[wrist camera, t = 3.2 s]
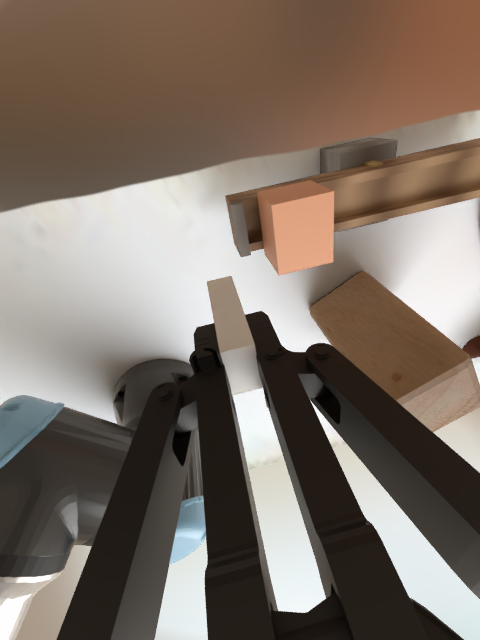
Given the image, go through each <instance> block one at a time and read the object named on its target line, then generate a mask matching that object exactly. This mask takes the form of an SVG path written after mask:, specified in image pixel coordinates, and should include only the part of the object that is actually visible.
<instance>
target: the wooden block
mask: <svg viewBox="0 0 480 640" xmlns="http://www.w3.org/2000/svg"><path fill="white" fill-rule="evenodd" d="M310 314H311V316H312V317H313V319H314V320H315V322H316V323H317V325H318V326H319V327H320V329H321V330H322V332H323V333H324V335H325V336H326V338H327V339H328V340H329V342H330V343H331V345H332V346H333V347H335V348H336V349H337V350H338V351H339V352H340V353H341V354H343V355H344V356H345V357H346V358H347V359H348V360H350V361H351V362H352V363H353V364H354V365H355V366H357V367H358V368H359V369H360V370H361V371H362V372H363V373H365V374H366V375H367V376H368V377H369V378H370V379H372V380H373V381H374V382H375V383H376V384H377V385H378V386H380V387H381V388H382V389H383V390H384V391H385V392H387V393H388V394H389V395H390V396H391V397H392V398H394V399H395V400H396V401H397V402H398V403H399V404H400V405H402V406H403V407H404V408H405V409H406V410H407V411H409V412H410V413H411V414H412V415H413V416H414V417H415V418H417V419H418V420H419V421H420V422H421V423H422V424H424V425H425V426H426V427H427V428H428V429H429V430H431V431H432V432H434V431H436V430H438V429H439V428H441V427H443V426H445V425H447V424H449V423H451V422H453V421H455V420H457V419H458V418H460V417H462V416H464V415H466V414H468V413H470V412H472V411H473V410H475V409H477V408H479V407H480V384H479V381H478V378H477V375H476V372H475V369H474V366H473V362H472V360H471V358H470V356H469V354H467V353H466V352H465V351H464V350H462V349H461V348H460V347H459V346H457V345H456V344H455V343H454V342H452V341H451V340H450V339H449V338H447V337H446V336H445V335H444V334H442V333H441V332H440V331H439V330H437V329H436V328H435V327H434V326H432V325H431V324H430V323H429V322H427V321H426V320H425V319H424V318H422V317H421V316H420V315H419V314H417V313H416V312H415V311H414V310H412V309H411V308H410V307H409V306H408V305H406V304H405V303H404V302H403V301H401V300H400V299H399V298H398V297H396V296H395V295H394V294H393V293H391V292H390V291H389V290H388V289H386V288H385V287H384V286H383V285H381V284H380V283H379V282H378V281H376V280H375V279H374V278H373V277H371V276H370V275H369V274H367V273H366V272H360V273H358V274H356V275H355V276H354V277H352V278H351V279H349V280H348V281H346V282H345V283H343V284H342V285H341V286H339V287H338V288H336V289H335V290H333V291H332V292H330V293H329V294H328V295H326V296H325V297H323V298H322V299H320V300H319V301H318V302H316V303H315V304H313V305H312V306H311V307H310Z"/></svg>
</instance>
